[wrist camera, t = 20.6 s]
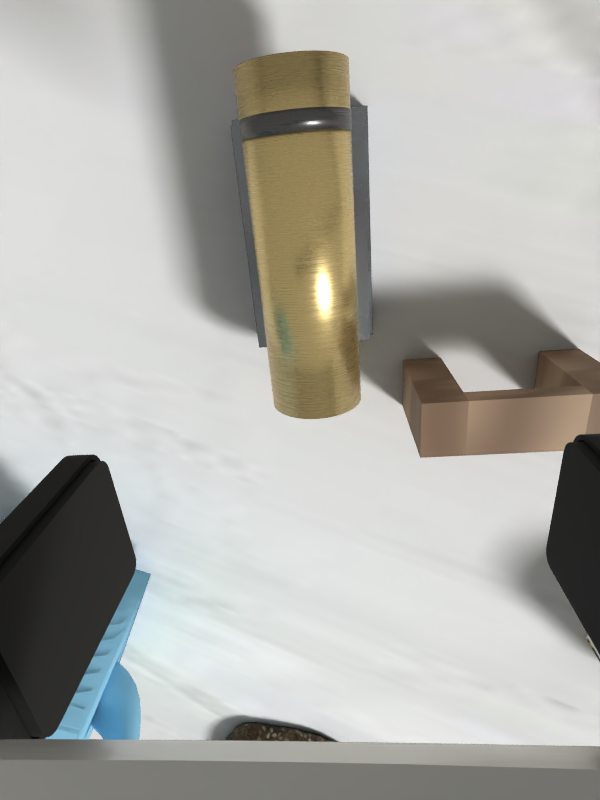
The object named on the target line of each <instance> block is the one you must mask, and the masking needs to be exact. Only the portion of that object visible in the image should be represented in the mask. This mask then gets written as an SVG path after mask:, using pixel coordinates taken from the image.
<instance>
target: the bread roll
mask: <svg viewBox="0 0 600 800" xmlns="http://www.w3.org/2000/svg"><path fill="white" fill-rule="evenodd" d="M226 741H306V742H333V741H331V740H328V739H325V738H323V737H321V736H318V735H314V734H310V733H307V732H303V731H300V730H296V729H291V728H283V727H276V726H270V725H264V724H259V723H248V724H242V725H241V726H239V727H236V728H235V730H234V732H233V733H232V734H231V735H230V736H229V737H228V738H227V739H226Z"/></svg>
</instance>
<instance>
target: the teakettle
mask: <svg viewBox="0 0 600 800" xmlns="http://www.w3.org/2000/svg"><path fill="white" fill-rule="evenodd" d="M150 575H151V574H149V573H146V572H143V571H140V570H137V569H135V573H134V575H133V577H132V579H131V581H130V583H129V586H128V588H127V590H126V592H125V594H124V596H123V598H122V600H121V602H120V604H119V606H118V608H117V610H116V612H115V614H114V616H113V618H112V620H111V622H110V624H109V626H108V628H107V630H106V632H105V634H104V636H103V638H102V640H101V642H100V644H99V646H98V648H97V650H96V652H95V654H94V656H93V658H92V660H91V662H90V664H89V666H88V668H87V670H86V672H85V674H84V676H83V678H82V680H81V682H80V684H79V686H78V688H77V690H76V693H75V695H74V697H73V699H72V701H71V703H70V705H69V707H68V709H67V711H66V713H65V715H64V717H63V719H62V721H61V723H60V725H59V727H58V728H57V730H56V732H55V733H54V734H53V735H52V736H50V737H46V738H45V739H89V737H90V735H91V733H92V730H93V728H94V729H95V730H96V731H97V732H98V733H99V734H100V735H101V736H102V738H103V740H139V737H140V720H141V710H140V698H139V694H138V691H137V687H136V684H135V682H134V681H133V679H132V677H131V676H130V674H129V672H128V671H127V670H126V669H125V668H124V667H123V666H122V665H120V664H119V663H120V660H121V657H122V654H123V651H124V649H125V646H126V643H127V640H128V637H129V635H130V632H131V629H132V626H133V623H134V620H135V618H136V615H137V612H138V609H139V606H140V603H141V601H142V598H143V595H144V592H145V589H146V586H147V584H148V581H149V578H150Z"/></svg>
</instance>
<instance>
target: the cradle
mask: <svg viewBox="0 0 600 800" xmlns="http://www.w3.org/2000/svg"><path fill="white" fill-rule="evenodd" d="M350 108H351V114H352V131H351V136H352V164H353V191H354V219H355V247H356V275H357V302H358V330H359V341H362V340H370V334H373V326H372V283H371V240H370V198H369V155H368V112H367V106H358V107H350ZM231 133H232V141H233V148H234V156H235V164H236V171H237V179H238V187H239V194H240V202H241V210H242V218H243V225H244V233H245V241H246V248H247V256H248V264H249V272H250V279H251V287H252V295H253V302H254V310H255V318H256V325H257V333H258V341H259V347H267V343H266V334H265V326H264V318H263V310H262V302H261V294H260V286H259V278H258V269H257V261H256V253H255V245H254V237H253V229H252V221H251V213H250V205H249V196H248V188H247V180H246V172H245V164H244V156H243V148H242V142H241V138H240V130H239V120H232V126H231Z"/></svg>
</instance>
